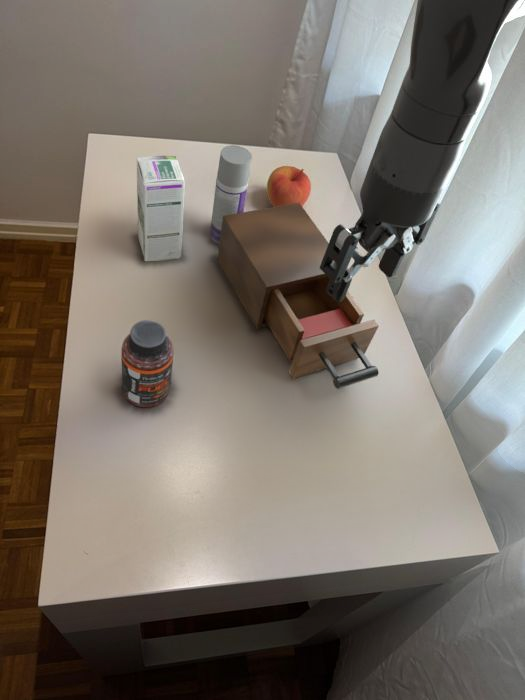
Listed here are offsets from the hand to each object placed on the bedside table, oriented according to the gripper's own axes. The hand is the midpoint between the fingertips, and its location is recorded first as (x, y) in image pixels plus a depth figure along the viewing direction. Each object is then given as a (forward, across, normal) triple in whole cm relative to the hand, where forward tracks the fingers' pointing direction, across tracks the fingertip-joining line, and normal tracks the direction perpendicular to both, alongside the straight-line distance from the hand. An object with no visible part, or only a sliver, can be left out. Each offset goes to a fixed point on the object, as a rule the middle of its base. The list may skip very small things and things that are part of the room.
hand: (361, 284), depth 67 cm
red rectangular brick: (+14, 0, +3) cm, 14 cm away
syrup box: (+16, -8, +30) cm, 36 cm away
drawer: (+15, 0, +3) cm, 15 cm away
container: (+16, +2, +28) cm, 33 cm away
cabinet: (+16, +3, +16) cm, 23 cm away
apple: (+16, +16, +30) cm, 37 cm away
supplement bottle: (+16, -23, +9) cm, 30 cm away
